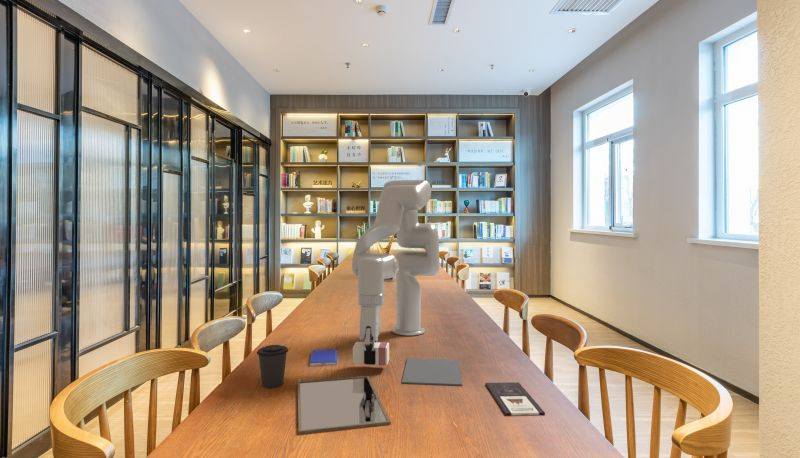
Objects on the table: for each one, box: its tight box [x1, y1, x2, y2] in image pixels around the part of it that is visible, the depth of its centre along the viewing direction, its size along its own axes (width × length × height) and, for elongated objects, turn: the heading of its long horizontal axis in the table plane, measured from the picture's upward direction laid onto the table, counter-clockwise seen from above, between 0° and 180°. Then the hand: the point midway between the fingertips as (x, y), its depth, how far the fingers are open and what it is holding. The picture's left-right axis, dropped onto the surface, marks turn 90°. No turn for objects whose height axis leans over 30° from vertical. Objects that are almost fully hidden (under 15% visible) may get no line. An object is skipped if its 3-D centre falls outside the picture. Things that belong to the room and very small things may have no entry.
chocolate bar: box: [484, 381, 546, 417], centre depth 106 cm, size 9×1×18 cm
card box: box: [352, 341, 390, 366], centre depth 127 cm, size 10×5×5 cm, turn 85°
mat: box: [401, 357, 463, 387], centre depth 125 cm, size 20×16×1 cm
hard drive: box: [309, 348, 338, 367], centre depth 136 cm, size 2×8×12 cm
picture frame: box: [297, 375, 392, 435], centre depth 104 cm, size 19×1×28 cm
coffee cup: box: [256, 344, 289, 389], centre depth 114 cm, size 8×8×10 cm
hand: (371, 360), depth 127 cm, fingers closed on card box, 5 cm apart
